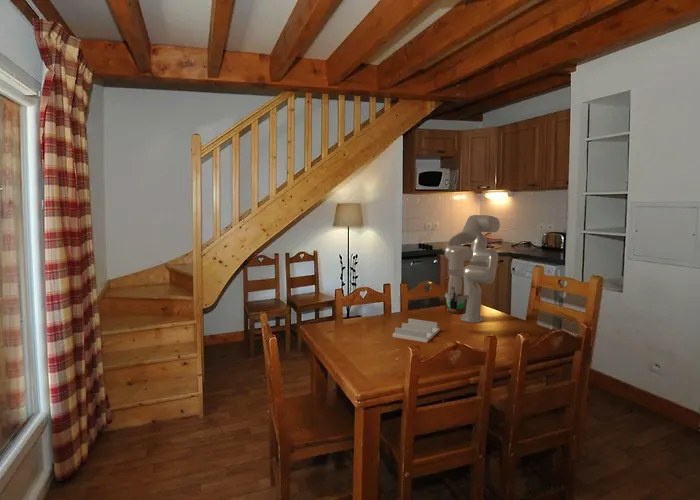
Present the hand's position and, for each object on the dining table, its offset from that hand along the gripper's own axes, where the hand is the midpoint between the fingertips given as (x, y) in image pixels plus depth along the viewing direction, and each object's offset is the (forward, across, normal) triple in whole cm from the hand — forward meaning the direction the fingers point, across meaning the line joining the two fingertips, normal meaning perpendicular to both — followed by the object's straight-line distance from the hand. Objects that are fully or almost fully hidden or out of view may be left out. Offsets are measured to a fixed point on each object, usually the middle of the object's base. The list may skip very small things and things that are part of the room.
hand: (455, 306), depth 231 cm
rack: (+14, +10, -17) cm, 24 cm away
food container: (+4, 0, 0) cm, 4 cm away
